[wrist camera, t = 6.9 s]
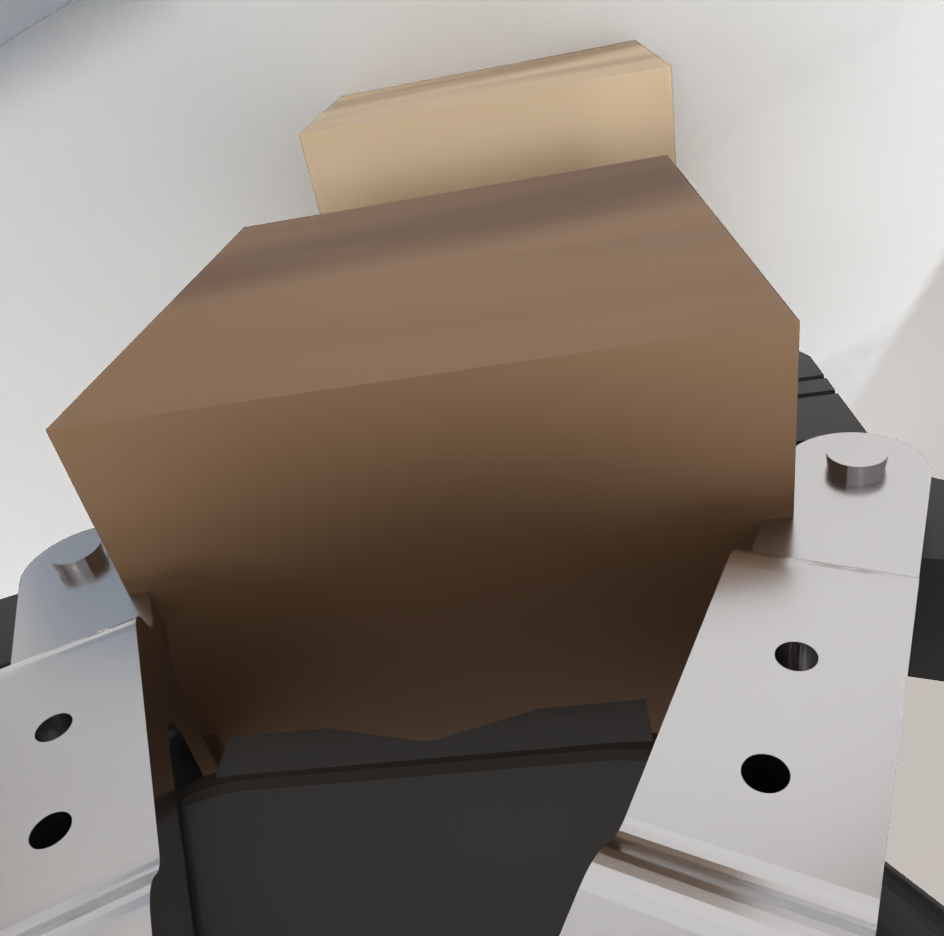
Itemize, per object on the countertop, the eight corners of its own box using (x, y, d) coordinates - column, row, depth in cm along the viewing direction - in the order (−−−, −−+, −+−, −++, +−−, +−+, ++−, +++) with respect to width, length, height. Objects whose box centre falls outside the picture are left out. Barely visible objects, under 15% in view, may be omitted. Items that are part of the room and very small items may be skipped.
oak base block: (342, 95, 20) (298, 134, 16) (634, 39, 19) (671, 65, 15) (405, 358, 24) (383, 447, 19) (653, 321, 23) (686, 405, 19)
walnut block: (243, 227, 12) (44, 430, 7) (667, 154, 11) (800, 320, 6) (348, 556, 15) (265, 865, 10) (685, 516, 14) (784, 828, 9)
